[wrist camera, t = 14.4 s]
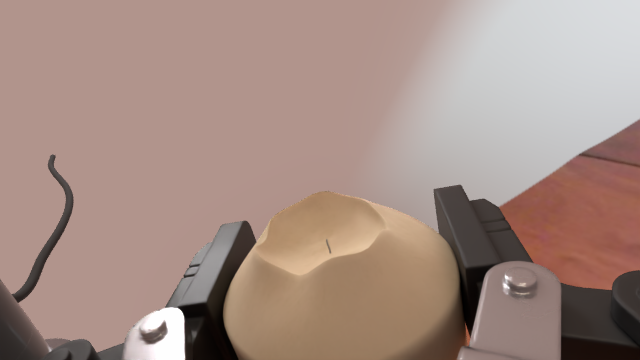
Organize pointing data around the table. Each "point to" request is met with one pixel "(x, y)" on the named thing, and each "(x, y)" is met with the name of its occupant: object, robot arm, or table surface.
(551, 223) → the table surface
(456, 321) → the candle
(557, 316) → the robot arm
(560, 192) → the table surface
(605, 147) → the table surface
